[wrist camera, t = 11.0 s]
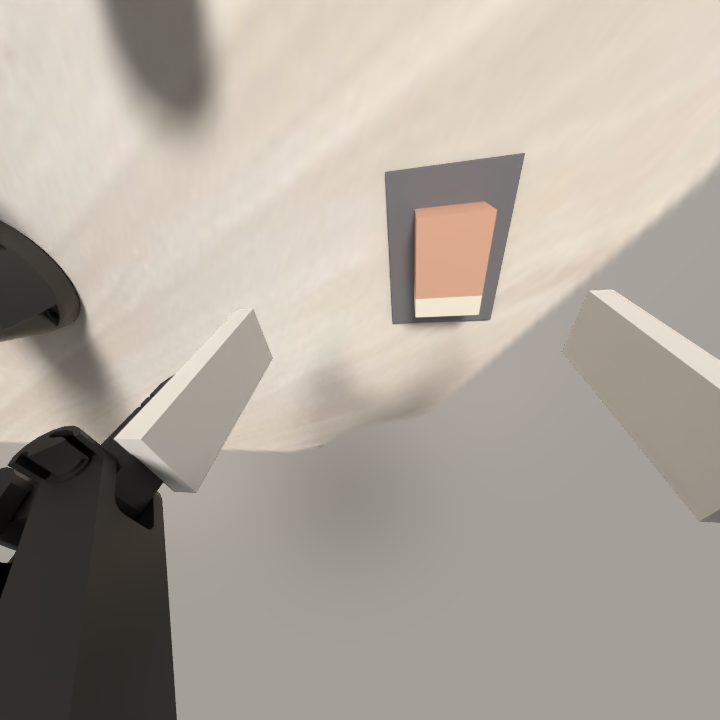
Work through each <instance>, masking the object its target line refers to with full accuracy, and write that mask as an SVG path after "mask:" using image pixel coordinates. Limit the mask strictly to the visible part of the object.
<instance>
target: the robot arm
mask: <svg viewBox="0 0 720 720" xmlns="http://www.w3.org/2000/svg"><path fill="white" fill-rule="evenodd" d="M79 308H80V307H79V301H78V297H77V295H76V292H75V290H74V288H73V286H72V285H71V283H70V281H69V280H68V278H67V277H66V276H65V274H64V273H63V272H62V270H61V269H60V268H59V267H58V266H57V265H56V263H55V262H54V261H53V260H52V259H51V258H50V257H49V256H48V255H47V254H46V253H45V252H44V251H42V250H41V249H40V248H39V247H38V246H37V245H35V244H34V243H33V242H32V241H30V240H29V239H28V238H27V237H25V236H24V235H22V234H21V233H19V232H18V231H17V230H15V229H13V228H12V227H10V226H8V225H7V224H5V223H3V222H1V221H0V342H3V341H7V340H12V339H17V338H22V337H27V336H31V335H36V334H41V333H46V332H50V331H54V330H57V329H59V328H61V327H63V326H65V325H67V324H69V323H71V322H72V321H74V320H75V319H76V318H77V316H78V314H79ZM562 353H563V354H564V355H565V356H566V358H567V359H568V360H569V361H570V363H571V364H572V365H573V366H574V367H575V369H576V370H577V371H578V372H579V374H580V375H581V376H582V377H583V378H584V380H585V381H586V382H587V384H588V385H589V386H590V387H591V389H592V390H593V391H594V392H595V393H596V395H597V396H598V397H599V398H600V400H601V401H602V402H603V403H604V405H605V406H606V407H607V408H608V409H609V411H610V412H611V413H612V414H613V416H614V417H615V418H616V419H617V421H618V422H619V423H620V424H621V426H622V427H623V428H624V429H625V430H626V432H627V433H628V434H629V435H630V437H631V438H632V439H633V440H634V442H635V443H636V444H637V445H638V447H639V448H640V449H641V450H642V452H643V453H644V454H645V455H646V456H647V458H648V459H649V460H650V461H651V463H652V464H653V465H654V466H655V467H656V469H657V470H658V471H659V472H660V474H661V475H662V476H663V477H664V479H665V480H666V481H667V482H668V483H669V485H670V486H671V487H672V488H673V490H674V491H675V492H676V494H677V495H678V496H679V497H680V498H681V500H682V501H683V502H684V503H685V505H686V506H687V507H688V508H689V509H690V511H691V512H692V513H693V514H694V515H695V517H696V518H697V519H698V521H701V522H718V523H720V361H719V360H718V359H716V358H715V357H713V356H712V355H710V354H709V353H707V352H706V351H704V350H703V349H701V348H700V347H698V346H697V345H695V344H694V343H692V342H691V341H689V340H688V339H686V338H685V337H683V336H682V335H680V334H679V333H677V332H676V331H674V330H673V329H671V328H669V327H668V326H667V325H665V324H664V323H662V322H660V321H659V320H658V319H656V318H654V317H653V316H652V315H650V314H649V313H647V312H646V311H644V310H642V309H641V308H639V307H638V306H637V305H635V304H633V303H632V302H630V301H629V300H627V299H626V298H624V297H623V296H621V295H620V294H618V293H617V292H615V291H614V290H596V291H589V292H588V294H587V296H586V299H585V301H584V303H583V305H582V307H581V309H580V312H579V314H578V316H577V318H576V320H575V323H574V325H573V327H572V329H571V332H570V334H569V336H568V338H567V340H566V342H565V345H564V347H563V349H562ZM272 359H273V357H272V355H271V352H270V350H269V347H268V345H267V342H266V340H265V337H264V335H263V332H262V330H261V327H260V325H259V322H258V320H257V317H256V315H255V312H254V309H237V310H236V311H235V312H234V313H233V314H232V315H231V316H230V317H229V318H228V319H227V320H226V321H225V322H224V323H223V325H222V326H221V327H220V328H219V329H218V330H217V331H216V332H215V333H214V334H213V335H212V336H211V337H210V338H209V339H208V340H207V341H206V342H205V343H204V344H203V345H202V347H201V348H200V349H199V350H198V351H197V352H196V353H195V354H194V355H193V356H192V357H191V358H190V359H189V360H188V361H187V362H186V363H185V364H184V365H183V366H182V368H181V369H180V370H179V371H178V372H177V373H176V374H174V375H173V376H171V377H170V378H168V379H167V380H165V381H164V382H163V383H161V384H160V385H159V386H158V387H157V388H156V389H155V390H154V391H153V392H152V393H151V394H150V397H147V398H146V399H145V400H144V401H143V403H142V404H141V407H138V408H137V409H136V410H135V411H134V412H133V413H132V414H131V415H130V416H129V417H128V418H127V419H126V420H125V421H124V422H123V423H122V424H121V425H120V426H119V427H118V428H117V429H116V430H115V431H114V432H113V433H112V434H111V435H110V436H109V437H108V438H107V439H106V440H105V441H104V442H103V443H102V444H101V445H100V444H98V443H97V442H96V441H95V440H93V439H92V438H91V437H90V436H88V435H87V434H86V433H85V432H84V431H82V430H81V429H80V428H78V427H76V426H64V427H61V428H58V429H55V430H52V431H50V432H48V433H46V434H44V435H42V436H40V437H38V438H36V439H35V440H33V441H32V442H30V443H29V444H27V445H26V446H25V447H24V448H22V449H21V450H20V451H19V452H18V453H17V454H16V455H15V456H14V457H13V458H12V460H11V461H10V462H9V464H8V466H9V467H11V468H8V467H6V468H1V469H0V545H2V546H5V547H7V548H10V549H13V550H16V552H15V554H14V556H13V557H12V558H11V559H10V561H9V562H8V563H1V562H0V720H177V716H176V702H175V687H174V673H173V672H174V671H173V656H172V641H171V626H170V611H169V597H168V581H167V566H166V551H165V538H164V537H165V536H164V521H163V507H162V498H161V495H160V493H158V492H157V490H158V489H159V487H160V486H161V485H162V483H165V484H166V485H167V486H168V487H169V488H170V489H172V490H173V491H174V492H189V493H196V492H197V491H198V489H199V487H200V485H201V483H202V482H203V480H204V478H205V476H206V475H207V473H208V471H209V469H210V468H211V466H212V464H213V462H214V461H215V459H216V457H217V455H218V454H219V452H220V450H221V448H222V447H223V445H224V443H225V441H226V440H227V438H228V436H229V434H230V433H231V431H232V429H233V427H234V426H235V424H236V422H237V420H238V418H239V417H240V415H241V413H242V411H243V410H244V408H245V406H246V404H247V403H248V401H249V399H250V397H251V396H252V394H253V392H254V390H255V389H256V387H257V385H258V383H259V382H260V380H261V378H262V376H263V374H264V373H265V371H266V369H267V367H268V366H269V364H270V362H271V360H272ZM12 468H13V469H12Z"/></svg>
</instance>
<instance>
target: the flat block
mask: <svg viewBox="0 0 720 720" xmlns="http://www.w3.org/2000/svg"><path fill="white" fill-rule="evenodd" d="M496 214H497V209H495V208H494V207H492V206H491V205H489V204H488V203H486V202H485V201H483V202H474V203H465V204H456V205H447V206H438V207H429V208H420V209H415V243H414V305H415V318H416V317H439V316H462V315H479V311H480V305H481V299H482V294H483V288H484V282H485V277H486V271H487V265H488V260H489V254H490V248H491V243H492V237H493V231H494V226H495V220H496Z"/></svg>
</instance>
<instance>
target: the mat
mask: <svg viewBox="0 0 720 720" xmlns="http://www.w3.org/2000/svg"><path fill="white" fill-rule="evenodd" d="M524 155H525V153H521V154H514V155H507V156H499V157H492V158H485V159H477V160H470V161H463V162H455V163H448V164H441V165H433V166H426V167H419V168H411V169H404V170H397V171H389V172H385V175H386V195H387V216H388V236H389V256H390V277H391V297H392V317H393V323H416V322H441V321H466V320H490V318H491V313H492V309H493V304H494V299H495V294H496V289H497V285H498V280H499V275H500V270H501V265H502V261H503V256H504V251H505V246H506V241H507V237H508V232H509V227H510V222H511V217H512V213H513V208H514V203H515V198H516V193H517V189H518V184H519V179H520V174H521V169H522V165H523V160H524ZM483 201H485V202H486V203H488V204H489V205H491V206H492V207H494V208H495V209H497V214H496V220H495V226H494V231H493V237H492V243H491V248H490V254H489V260H488V265H487V271H486V277H485V282H484V288H483V294H482V299H481V305H480V311H479V315H462V316H439V317H416V318H415V305H414V243H415V209H420V208H429V207H438V206H447V205H456V204H465V203H474V202H483Z"/></svg>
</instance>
